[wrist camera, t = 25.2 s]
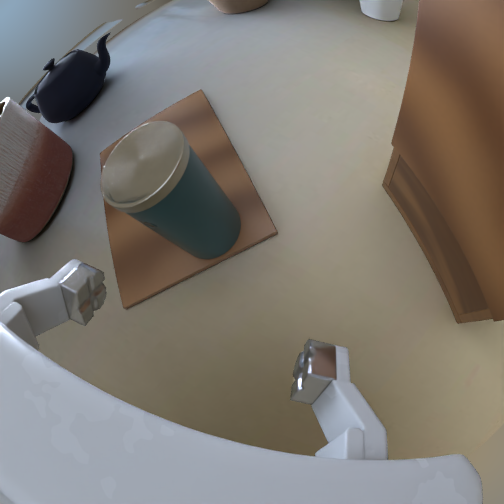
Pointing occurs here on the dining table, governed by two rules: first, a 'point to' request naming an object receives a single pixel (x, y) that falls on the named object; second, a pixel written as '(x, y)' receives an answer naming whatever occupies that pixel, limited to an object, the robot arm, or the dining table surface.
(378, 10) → the cup
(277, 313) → the dining table surface
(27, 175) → the planter
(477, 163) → the chest lid
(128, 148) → the tea tin
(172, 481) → the robot arm
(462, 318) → the chest
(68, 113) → the teapot
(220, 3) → the vase
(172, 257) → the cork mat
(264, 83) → the dining table surface
